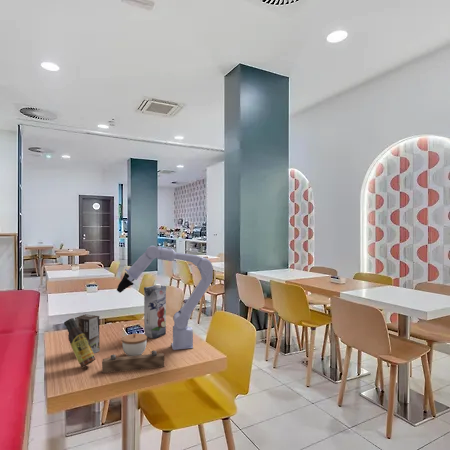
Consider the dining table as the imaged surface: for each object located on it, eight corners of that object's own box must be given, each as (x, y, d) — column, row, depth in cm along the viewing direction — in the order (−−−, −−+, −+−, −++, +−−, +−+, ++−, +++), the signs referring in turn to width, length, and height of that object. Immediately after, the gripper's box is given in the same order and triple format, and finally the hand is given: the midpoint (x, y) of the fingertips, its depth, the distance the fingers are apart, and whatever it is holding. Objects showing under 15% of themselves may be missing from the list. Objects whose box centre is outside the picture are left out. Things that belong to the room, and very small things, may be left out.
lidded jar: (117, 358, 146) (117, 336, 146) (129, 349, 157) (129, 329, 157) (139, 360, 144) (139, 338, 144) (151, 351, 154) (151, 331, 154)
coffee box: (100, 350, 155) (100, 315, 155) (89, 355, 149) (89, 319, 149) (85, 347, 159) (85, 313, 159) (74, 352, 153) (74, 317, 153)
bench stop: (163, 363, 141) (163, 349, 141) (164, 366, 138) (164, 352, 138) (103, 369, 135) (102, 354, 135) (102, 373, 132) (102, 357, 132)
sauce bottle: (86, 364, 133) (63, 320, 136) (78, 370, 136) (56, 326, 139) (99, 357, 138) (77, 314, 142) (92, 362, 141) (71, 320, 145)
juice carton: (141, 336, 174) (141, 284, 174) (156, 331, 183) (155, 281, 183) (154, 340, 169) (154, 286, 169) (168, 334, 178) (168, 283, 178)
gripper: (133, 259, 162) (113, 280, 161) (132, 263, 148) (110, 287, 147) (144, 268, 164) (124, 290, 162) (144, 273, 150) (123, 297, 148)
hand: (118, 289), depth 154 cm, fingers open, 7 cm apart
